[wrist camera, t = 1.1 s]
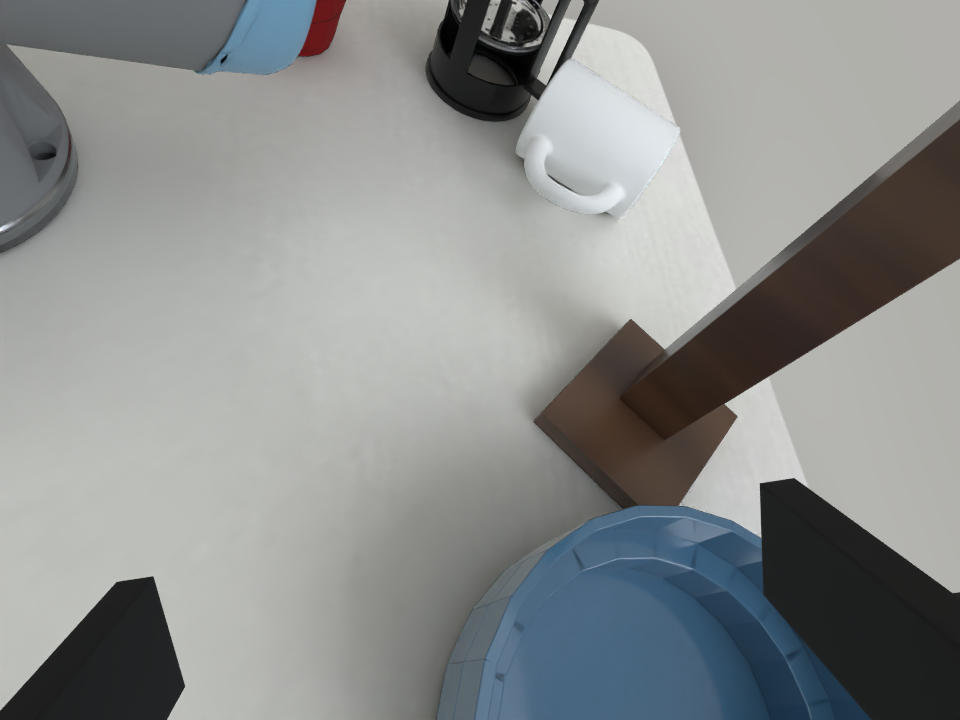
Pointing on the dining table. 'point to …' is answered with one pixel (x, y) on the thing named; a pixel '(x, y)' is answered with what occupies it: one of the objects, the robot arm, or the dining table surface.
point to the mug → (592, 143)
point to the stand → (759, 327)
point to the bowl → (638, 631)
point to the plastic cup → (322, 26)
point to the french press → (498, 52)
